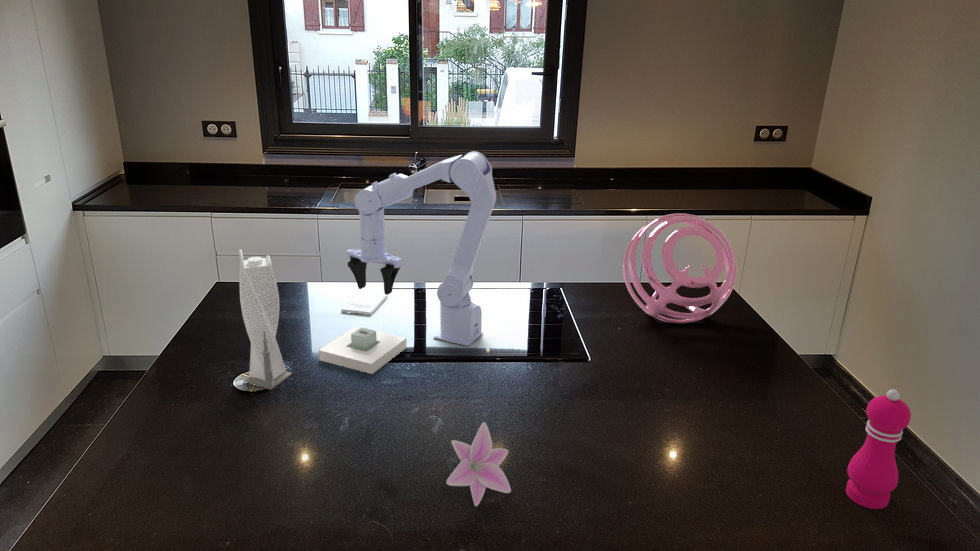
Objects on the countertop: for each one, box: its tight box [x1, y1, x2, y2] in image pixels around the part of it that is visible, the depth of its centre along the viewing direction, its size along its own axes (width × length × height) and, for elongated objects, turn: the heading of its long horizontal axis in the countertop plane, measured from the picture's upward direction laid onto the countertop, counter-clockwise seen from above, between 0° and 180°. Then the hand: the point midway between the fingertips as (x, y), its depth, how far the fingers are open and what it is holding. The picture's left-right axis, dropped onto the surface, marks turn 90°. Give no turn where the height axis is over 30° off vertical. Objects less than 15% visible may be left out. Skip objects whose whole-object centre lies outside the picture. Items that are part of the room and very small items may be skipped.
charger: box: [351, 327, 377, 352], centre depth 156 cm, size 4×4×5 cm
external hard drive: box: [340, 291, 389, 316], centre depth 182 cm, size 2×8×12 cm
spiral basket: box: [622, 212, 738, 324], centre depth 176 cm, size 28×28×27 cm
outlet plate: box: [318, 325, 408, 375], centre depth 156 cm, size 14×14×2 cm
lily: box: [446, 421, 512, 507], centre depth 112 cm, size 12×12×10 cm
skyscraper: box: [238, 249, 293, 391], centre depth 141 cm, size 8×8×28 cm
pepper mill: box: [845, 388, 912, 510], centre depth 109 cm, size 7×7×20 cm
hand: (375, 290), depth 167 cm, fingers open, 7 cm apart
